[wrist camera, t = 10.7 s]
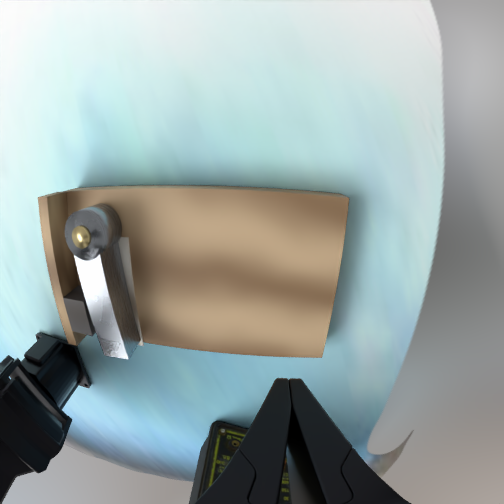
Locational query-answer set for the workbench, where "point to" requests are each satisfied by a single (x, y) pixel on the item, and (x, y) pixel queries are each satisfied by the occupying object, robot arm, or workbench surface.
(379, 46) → the workbench surface
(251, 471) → the robot arm
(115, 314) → the bar
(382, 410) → the workbench surface
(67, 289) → the door board
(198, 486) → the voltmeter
